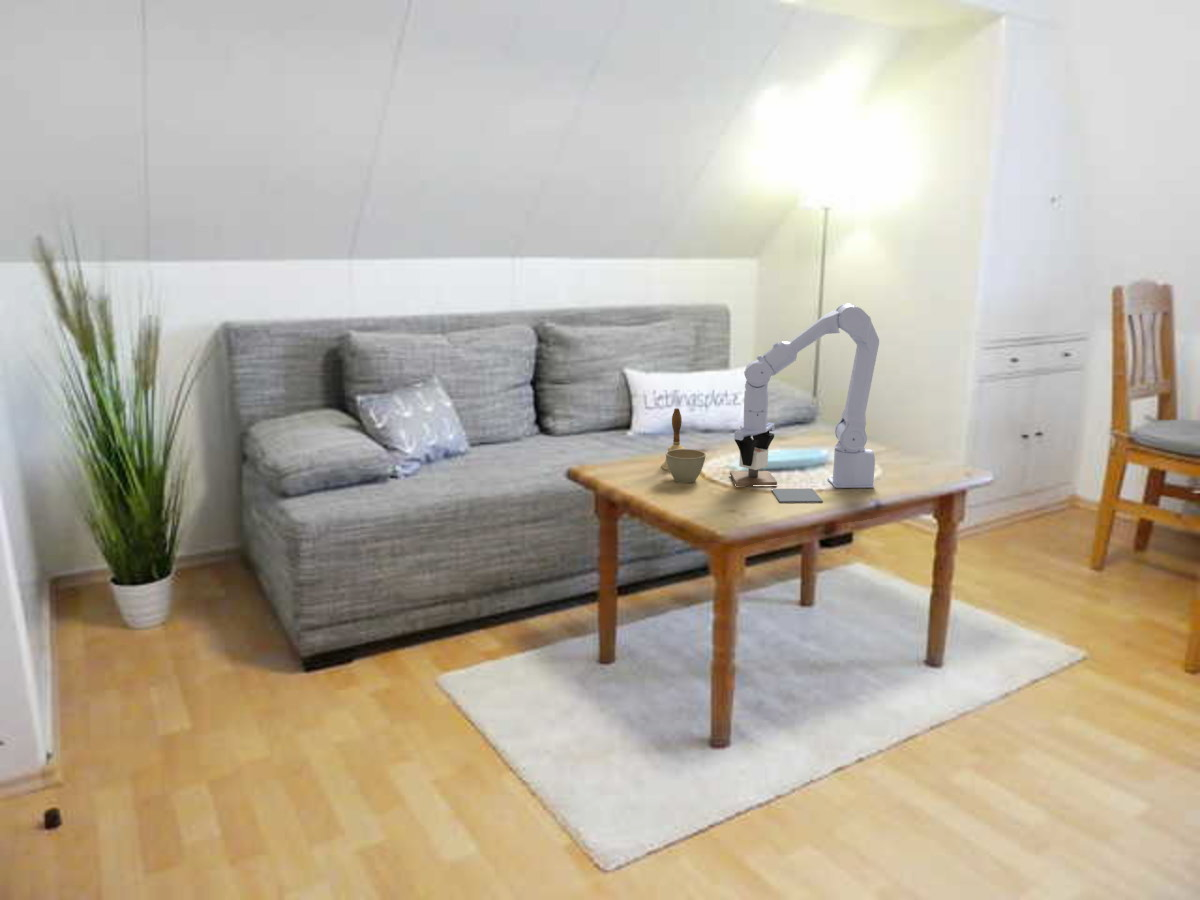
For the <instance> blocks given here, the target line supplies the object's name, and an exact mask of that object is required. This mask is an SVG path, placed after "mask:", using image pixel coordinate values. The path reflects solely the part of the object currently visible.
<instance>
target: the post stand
mask: <svg viewBox="0 0 1200 900" xmlns="http://www.w3.org/2000/svg"><path fill="white" fill-rule="evenodd" d="M729 472H730V473H729V476H730V475H731V477H732V478H731V477H730V478H731V480H732V479H733V480H732V482H733V481H734V482H733V483H735V484H736V486H753V485H777V486H778V482H777V480H776V479H775V477H774V475H772V473H771V472H770V471H768V470H765V471H764V470H760V471H759V469H758V470H754V469H749V468H748V471H747V470H745V471H744V470H743V471H741V470H740V471H735V470H734V471H729ZM735 484H734V485H735ZM736 486H735V487H736Z"/></svg>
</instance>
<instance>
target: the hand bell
mask: <svg viewBox="0 0 1200 900" xmlns="http://www.w3.org/2000/svg"><path fill="white" fill-rule="evenodd" d="M682 423H683V422H682V414H681V411H680V408H674V409H673V413H672V416H671V426H672V430H673V440H672V441H673V443H672V445H670V446H669V447H668V448H667V451H670V450H676V449H686V448H685V447H684V446H683V445H681V443H680V441H681V440H680V438H681V437H680V431H681V429H682ZM660 468H661V469H663V470H665V471H669V472H670V470H669V467H668V464H667V460H666V459H665V460H664V462H663V463H662V464H661V466H660Z"/></svg>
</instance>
